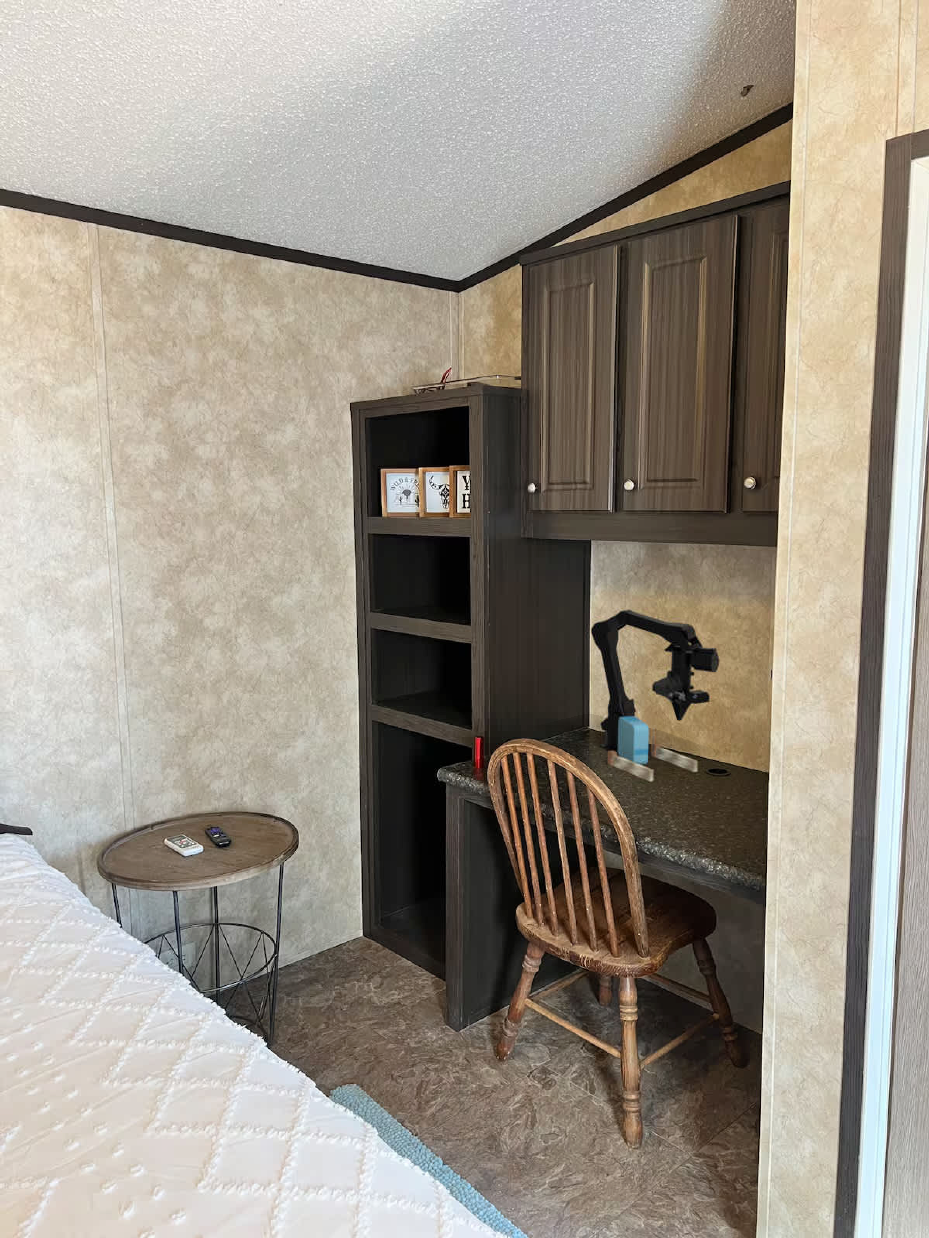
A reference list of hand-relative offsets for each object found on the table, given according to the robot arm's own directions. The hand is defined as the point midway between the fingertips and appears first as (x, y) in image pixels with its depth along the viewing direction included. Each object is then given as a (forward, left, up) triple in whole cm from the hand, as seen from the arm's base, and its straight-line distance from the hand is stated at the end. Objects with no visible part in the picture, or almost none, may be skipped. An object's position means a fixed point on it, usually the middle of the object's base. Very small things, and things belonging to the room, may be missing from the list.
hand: (679, 720), depth 269 cm
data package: (-7, -11, -12) cm, 18 cm away
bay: (+2, -11, -12) cm, 16 cm away
